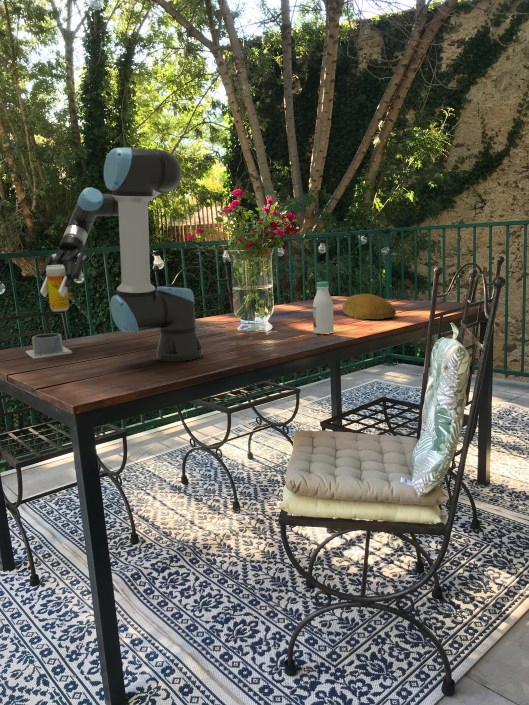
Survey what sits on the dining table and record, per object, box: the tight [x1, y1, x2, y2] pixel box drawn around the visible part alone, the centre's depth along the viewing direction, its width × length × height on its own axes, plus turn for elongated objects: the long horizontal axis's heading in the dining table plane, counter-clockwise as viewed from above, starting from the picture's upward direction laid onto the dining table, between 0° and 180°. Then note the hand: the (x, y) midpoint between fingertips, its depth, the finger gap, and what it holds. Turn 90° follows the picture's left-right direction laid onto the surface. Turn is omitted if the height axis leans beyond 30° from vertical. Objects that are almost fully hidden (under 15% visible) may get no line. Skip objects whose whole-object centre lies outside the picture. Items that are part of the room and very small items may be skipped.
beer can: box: [46, 264, 70, 312], centre depth 194 cm, size 6×6×15 cm
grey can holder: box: [25, 332, 73, 360], centre depth 207 cm, size 13×13×6 cm
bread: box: [342, 293, 397, 320], centre depth 265 cm, size 18×35×10 cm, turn 18°
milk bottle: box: [312, 281, 334, 334], centre depth 222 cm, size 8×8×20 cm
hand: (52, 294), depth 191 cm, fingers closed on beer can, 6 cm apart
